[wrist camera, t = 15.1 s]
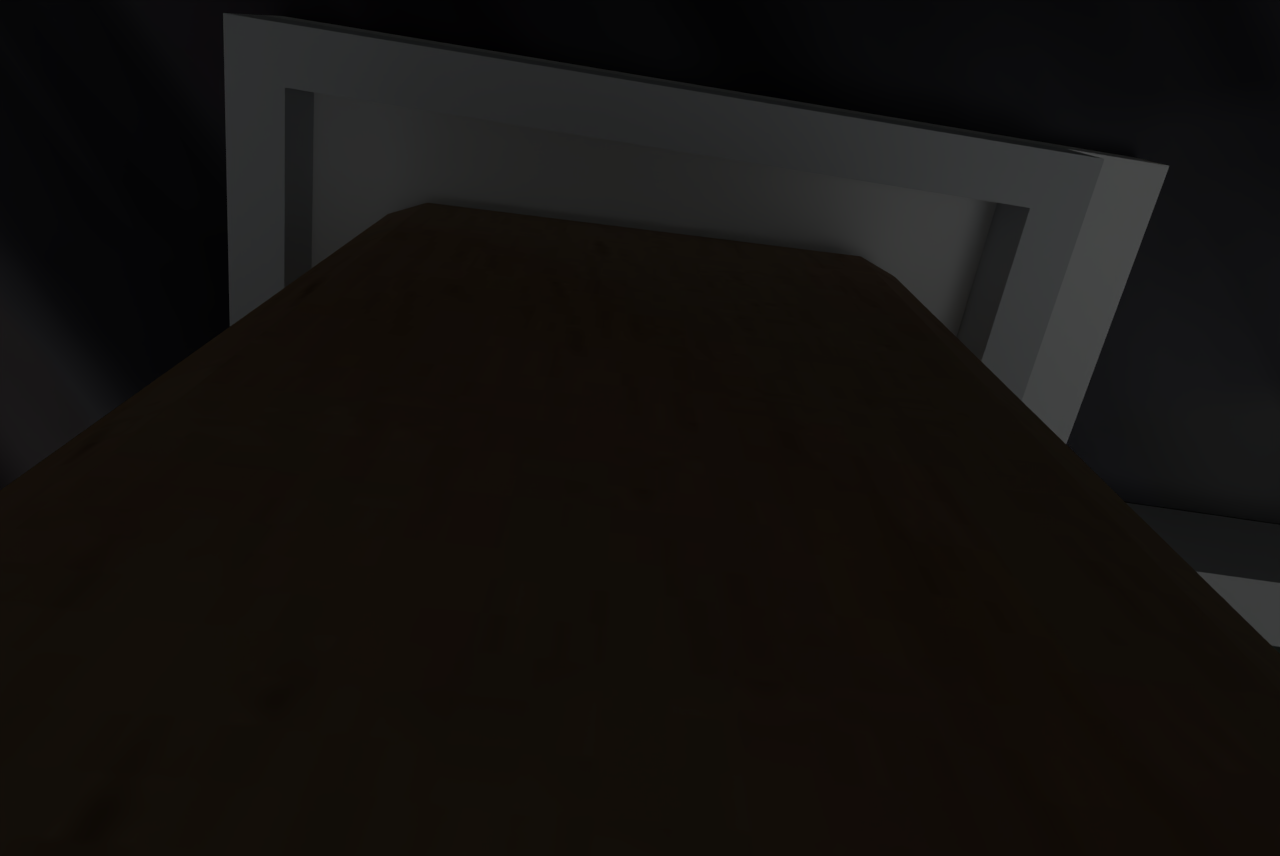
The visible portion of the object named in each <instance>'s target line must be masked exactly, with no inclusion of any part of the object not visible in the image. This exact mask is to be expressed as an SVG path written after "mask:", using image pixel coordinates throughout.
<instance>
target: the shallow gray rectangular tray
mask: <svg viewBox="0 0 1280 856" xmlns="http://www.w3.org/2000/svg"><path fill="white" fill-rule="evenodd" d="M223 31H224V77H225V124H226V170H227V217H228V263H229V310H230V326H232V325H233V324H234V323H236V322H237V321H239V320H240V319H241V318H243V317H244V316H246V315H247V314H248V313H250V312H251V311H253V310H254V309H255V308H257V307H258V306H260V305H261V304H262V303H264V302H265V301H267V300H268V299H269V298H271V297H272V296H274V295H275V294H276V293H278V292H279V291H281V290H282V289H283V288H285V287H286V286H288V285H289V284H290V283H292V282H293V281H295V280H296V279H297V278H299V277H300V276H302V275H303V274H304V273H306V272H307V271H309V270H310V269H311V268H313V267H314V266H316V265H317V264H318V263H320V262H321V261H323V260H324V259H325V258H327V257H328V256H330V255H331V254H332V253H334V252H335V251H337V250H338V249H339V248H341V247H342V246H344V245H345V244H346V243H348V242H349V241H351V240H352V239H353V238H355V237H356V236H358V235H359V234H360V233H362V232H363V231H365V230H366V229H367V228H369V227H370V226H372V225H373V224H375V223H376V222H377V221H379V220H380V219H382V218H383V217H384V216H386V215H387V214H390V213H393V212H396V211H400V210H403V209H407V208H410V207H414V206H417V205H421V204H424V203H434V204H442V205H451V206H459V207H467V208H475V209H483V210H491V211H499V212H507V213H515V214H523V215H531V216H539V217H547V218H555V219H563V220H572V221H580V222H588V223H596V224H604V225H612V226H620V227H628V228H636V229H644V230H652V231H660V232H668V233H676V234H684V235H693V236H701V237H709V238H717V239H725V240H733V241H741V242H749V243H757V244H765V245H773V246H781V247H789V248H797V249H806V250H814V251H822V252H830V253H838V254H846V255H854V256H861V257H863V258H864V259H866V260H868V261H869V262H871V263H873V264H874V265H876V266H878V267H879V268H881V269H883V270H885V271H886V272H888V273H890V274H891V275H893V276H895V277H896V278H897V279H898V280H899V281H900V282H901V283H902V284H903V285H904V286H905V287H906V288H907V289H908V290H909V291H910V292H911V293H912V294H913V295H914V296H915V297H916V298H917V299H918V300H919V301H920V302H921V303H922V304H923V305H924V306H925V307H926V308H927V309H928V310H929V311H930V312H931V313H932V314H933V315H934V316H935V317H936V318H937V319H938V320H940V321H941V322H942V323H943V324H944V325H945V326H946V327H947V328H948V329H949V330H950V331H951V332H952V333H953V334H954V335H955V336H956V337H957V338H958V339H959V340H960V341H961V342H962V343H963V344H964V345H965V346H966V347H967V348H968V349H969V350H970V351H971V352H972V353H973V354H974V355H975V356H976V357H977V358H978V359H979V360H980V361H981V362H982V363H983V364H984V365H985V366H986V367H988V368H989V369H990V370H991V371H992V372H993V373H994V374H995V375H996V376H997V377H998V378H999V379H1000V380H1001V381H1002V382H1003V383H1004V384H1005V385H1006V386H1007V387H1008V388H1009V389H1010V390H1011V391H1012V392H1013V393H1014V394H1015V395H1016V396H1017V397H1018V398H1019V399H1020V400H1021V401H1022V402H1023V403H1024V404H1025V405H1026V406H1027V407H1028V408H1029V409H1030V410H1031V411H1032V412H1033V413H1035V414H1036V415H1037V416H1038V417H1039V418H1040V419H1041V420H1042V421H1043V422H1044V423H1045V424H1046V425H1047V426H1048V427H1049V428H1050V429H1051V430H1052V431H1053V432H1054V433H1055V434H1056V435H1057V436H1058V437H1059V438H1060V439H1061V440H1062V441H1063V442H1064V443H1065V444H1067V441H1068V438H1069V435H1070V433H1071V430H1072V427H1073V425H1074V422H1075V419H1076V417H1077V414H1078V411H1079V408H1080V406H1081V403H1082V400H1083V398H1084V395H1085V392H1086V390H1087V387H1088V384H1089V381H1090V379H1091V376H1092V373H1093V371H1094V368H1095V365H1096V363H1097V360H1098V357H1099V354H1100V352H1101V349H1102V346H1103V344H1104V341H1105V338H1106V336H1107V333H1108V330H1109V327H1110V325H1111V322H1112V319H1113V317H1114V314H1115V311H1116V309H1117V306H1118V303H1119V300H1120V298H1121V295H1122V292H1123V290H1124V287H1125V284H1126V282H1127V279H1128V276H1129V273H1130V271H1131V268H1132V265H1133V263H1134V260H1135V257H1136V255H1137V252H1138V249H1139V246H1140V244H1141V241H1142V238H1143V236H1144V233H1145V230H1146V228H1147V225H1148V222H1149V219H1150V217H1151V214H1152V211H1153V209H1154V206H1155V203H1156V201H1157V198H1158V195H1159V192H1160V190H1161V187H1162V184H1163V182H1164V179H1165V176H1166V174H1167V171H1168V168H1169V166H1168V165H1164V164H1160V163H1156V162H1152V161H1148V160H1144V159H1140V158H1135V157H1129V156H1123V155H1117V154H1111V153H1105V152H1099V151H1093V150H1087V149H1081V148H1075V147H1069V146H1063V145H1057V144H1051V143H1045V142H1039V141H1033V140H1027V139H1021V138H1015V137H1009V136H1002V135H996V134H990V133H984V132H978V131H972V130H966V129H960V128H954V127H948V126H942V125H936V124H930V123H924V122H918V121H912V120H906V119H900V118H894V117H888V116H882V115H876V114H870V113H864V112H858V111H852V110H846V109H840V108H834V107H828V106H822V105H816V104H810V103H804V102H798V101H792V100H786V99H780V98H774V97H768V96H762V95H756V94H750V93H744V92H738V91H732V90H725V89H719V88H713V87H707V86H701V85H695V84H689V83H683V82H677V81H671V80H665V79H659V78H653V77H647V76H641V75H635V74H629V73H623V72H617V71H611V70H605V69H599V68H593V67H587V66H581V65H575V64H569V63H563V62H557V61H551V60H545V59H539V58H533V57H527V56H521V55H515V54H509V53H503V52H497V51H491V50H485V49H479V48H473V47H467V46H461V45H455V44H448V43H442V42H436V41H430V40H424V39H418V38H412V37H406V36H400V35H394V34H388V33H382V32H376V31H370V30H364V29H358V28H352V27H346V26H340V25H334V24H328V23H322V22H316V21H310V20H304V19H298V18H292V17H286V16H273V15H252V14H232V13H223Z"/></svg>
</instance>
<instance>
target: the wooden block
mask: <svg viewBox="0 0 1280 856" xmlns="http://www.w3.org/2000/svg"><path fill="white" fill-rule="evenodd" d="M0 856H1280V653H1279V652H1278V651H1277V650H1276V649H1275V648H1274V647H1273V646H1272V645H1271V644H1269V643H1268V642H1267V641H1266V640H1265V639H1264V638H1263V637H1262V636H1261V635H1260V634H1259V633H1258V632H1257V631H1256V630H1255V629H1254V628H1253V627H1252V626H1251V625H1250V624H1249V623H1248V622H1247V621H1246V620H1245V619H1244V618H1243V617H1242V616H1241V615H1240V614H1239V613H1238V612H1237V611H1236V610H1235V609H1234V608H1233V607H1232V606H1231V605H1230V604H1229V603H1228V602H1227V601H1226V600H1225V599H1224V598H1222V597H1221V596H1220V595H1219V594H1218V593H1217V592H1216V591H1215V590H1214V589H1213V588H1212V587H1211V586H1210V585H1209V584H1208V583H1207V582H1206V581H1205V580H1204V579H1203V578H1202V577H1201V576H1200V575H1199V574H1198V573H1197V572H1196V571H1195V570H1194V569H1193V568H1192V567H1191V566H1190V565H1189V564H1188V563H1187V562H1186V561H1185V560H1184V559H1183V558H1182V557H1181V556H1180V555H1179V554H1178V553H1177V552H1175V551H1174V550H1173V549H1172V548H1171V547H1170V546H1169V545H1168V544H1167V543H1166V542H1165V541H1164V540H1163V539H1162V538H1161V537H1160V536H1159V535H1158V534H1157V533H1156V532H1155V531H1154V530H1153V529H1152V528H1151V527H1150V526H1149V525H1148V524H1147V523H1146V522H1145V521H1144V520H1143V519H1142V518H1141V517H1140V516H1139V515H1138V514H1137V513H1136V512H1135V511H1134V510H1133V509H1132V508H1131V507H1130V506H1129V505H1127V504H1126V503H1125V502H1124V501H1123V500H1122V499H1121V498H1120V497H1119V496H1118V495H1117V494H1116V493H1115V492H1114V491H1113V490H1112V489H1111V488H1110V487H1109V486H1108V485H1107V484H1106V483H1105V482H1104V481H1103V480H1102V479H1101V478H1100V477H1099V476H1098V475H1097V474H1096V473H1095V472H1094V471H1093V470H1092V469H1091V468H1090V467H1089V466H1088V465H1087V464H1086V463H1085V462H1084V461H1083V460H1082V459H1080V458H1079V457H1078V456H1077V455H1076V454H1075V453H1074V452H1073V451H1072V450H1071V449H1070V448H1069V447H1068V446H1067V445H1066V444H1065V443H1064V442H1063V441H1062V440H1061V439H1060V438H1059V437H1058V436H1057V435H1056V434H1055V433H1054V432H1053V431H1052V430H1051V429H1050V428H1049V427H1048V426H1047V425H1046V424H1045V423H1044V422H1043V421H1042V420H1041V419H1040V418H1039V417H1038V416H1037V415H1036V414H1035V413H1033V412H1032V411H1031V410H1030V409H1029V408H1028V407H1027V406H1026V405H1025V404H1024V403H1023V402H1022V401H1021V400H1020V399H1019V398H1018V397H1017V396H1016V395H1015V394H1014V393H1013V392H1012V391H1011V390H1010V389H1009V388H1008V387H1007V386H1006V385H1005V384H1004V383H1003V382H1002V381H1001V380H1000V379H999V378H998V377H997V376H996V375H995V374H994V373H993V372H992V371H991V370H990V369H989V368H988V367H986V366H985V365H984V364H983V363H982V362H981V361H980V360H979V359H978V358H977V357H976V356H975V355H974V354H973V353H972V352H971V351H970V350H969V349H968V348H967V347H966V346H965V345H964V344H963V343H962V342H961V341H960V340H959V339H958V338H957V337H956V336H955V335H954V334H953V333H952V332H951V331H950V330H949V329H948V328H947V327H946V326H945V325H944V324H943V323H942V322H941V321H940V320H938V319H937V318H936V317H935V316H934V315H933V314H932V313H931V312H930V311H929V310H928V309H927V308H926V307H925V306H924V305H923V304H922V303H921V302H920V301H919V300H918V299H917V298H916V297H915V296H914V295H913V294H912V293H911V292H910V291H909V290H908V289H907V288H906V287H905V286H904V285H903V284H902V283H901V282H900V281H899V280H898V279H897V278H896V277H895V276H893V275H891V274H890V273H888V272H886V271H885V270H883V269H881V268H879V267H878V266H876V265H874V264H873V263H871V262H869V261H868V260H866V259H864V258H863V257H861V256H854V255H846V254H838V253H830V252H822V251H814V250H806V249H797V248H789V247H781V246H773V245H765V244H757V243H749V242H741V241H733V240H725V239H717V238H709V237H701V236H693V235H684V234H676V233H668V232H660V231H652V230H644V229H636V228H628V227H620V226H612V225H604V224H596V223H588V222H580V221H572V220H563V219H555V218H547V217H539V216H531V215H523V214H515V213H507V212H499V211H491V210H483V209H475V208H467V207H459V206H451V205H442V204H434V203H424V204H421V205H417V206H414V207H410V208H407V209H403V210H400V211H396V212H393V213H390V214H387V215H386V216H384V217H383V218H382V219H380V220H379V221H377V222H376V223H375V224H373V225H372V226H370V227H369V228H367V229H366V230H365V231H363V232H362V233H360V234H359V235H358V236H356V237H355V238H353V239H352V240H351V241H349V242H348V243H346V244H345V245H344V246H342V247H341V248H339V249H338V250H337V251H335V252H334V253H332V254H331V255H330V256H328V257H327V258H325V259H324V260H323V261H321V262H320V263H318V264H317V265H316V266H314V267H313V268H311V269H310V270H309V271H307V272H306V273H304V274H303V275H302V276H300V277H299V278H297V279H296V280H295V281H293V282H292V283H290V284H289V285H288V286H286V287H285V288H283V289H282V290H281V291H279V292H278V293H276V294H275V295H274V296H272V297H271V298H269V299H268V300H267V301H265V302H264V303H262V304H261V305H260V306H258V307H257V308H255V309H254V310H253V311H251V312H250V313H248V314H247V315H246V316H244V317H243V318H241V319H240V320H239V321H237V322H236V323H234V324H233V325H232V326H230V327H229V328H227V329H226V330H225V331H223V332H222V333H220V334H219V335H218V336H216V337H215V338H213V339H212V340H211V341H209V342H208V343H206V344H205V345H204V346H202V347H201V348H199V349H198V350H197V351H195V352H194V353H192V354H191V355H190V356H188V357H187V358H185V359H184V360H183V361H181V362H180V363H178V364H177V365H176V366H174V367H173V368H171V369H170V370H169V371H167V372H166V373H164V374H163V375H162V376H160V377H159V378H157V379H156V380H155V381H153V382H152V383H150V384H149V385H148V386H146V387H145V388H143V389H142V390H141V391H139V392H138V393H136V394H135V395H134V396H132V397H131V398H129V399H128V400H127V401H125V402H124V403H122V404H121V405H120V406H118V407H117V408H115V409H114V410H113V411H111V412H110V413H108V414H107V415H106V416H104V417H103V418H101V419H100V420H99V421H97V422H96V423H94V424H93V425H92V426H90V427H89V428H87V429H86V430H85V431H83V432H82V433H80V434H79V435H78V436H76V437H75V438H73V439H72V440H71V441H69V442H68V443H66V444H65V445H64V446H62V447H61V448H59V449H58V450H57V451H55V452H54V453H52V454H51V455H50V456H48V457H47V458H45V459H44V460H42V461H41V462H40V463H38V464H37V465H35V466H34V467H33V468H31V469H30V470H28V471H27V472H26V473H24V474H23V475H21V476H20V477H19V478H17V479H16V480H14V481H13V482H12V483H10V484H9V485H7V486H6V487H5V488H3V489H2V490H0Z"/></svg>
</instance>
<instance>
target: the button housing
mask: <svg viewBox="0 0 1280 856" xmlns="http://www.w3.org/2000/svg"><path fill="white" fill-rule="evenodd" d="M1126 504H1127V505H1129V506H1130V507H1131V508H1132V509H1133V510H1134V511H1135V512H1136V513H1137V514H1138V515H1139V516H1140V517H1141V518H1142V519H1143V520H1144V521H1145V522H1146V523H1147V524H1148V525H1149V526H1150V527H1151V528H1152V529H1153V530H1154V531H1155V532H1156V533H1157V534H1158V535H1159V536H1160V537H1161V538H1162V539H1163V540H1164V541H1165V542H1166V543H1167V544H1168V545H1169V546H1170V547H1171V548H1172V549H1173V550H1174V551H1175V552H1177V553H1178V554H1179V555H1180V556H1181V557H1182V558H1183V559H1184V560H1185V561H1186V562H1187V563H1188V564H1189V565H1190V566H1191V567H1192V568H1193V569H1194V570H1195V571H1196V572H1197V573H1198V574H1199V575H1200V576H1201V577H1202V578H1203V579H1204V580H1205V581H1206V582H1207V583H1208V584H1209V585H1210V586H1211V587H1212V588H1213V589H1214V590H1215V591H1216V592H1217V593H1218V594H1219V595H1220V596H1221V597H1222V598H1224V599H1225V600H1226V601H1227V602H1228V603H1229V604H1230V605H1231V606H1232V607H1233V608H1234V609H1235V610H1236V611H1237V612H1238V613H1239V614H1240V615H1241V616H1242V617H1243V618H1244V619H1245V620H1246V621H1247V622H1248V623H1249V624H1250V625H1251V626H1252V627H1253V628H1254V629H1255V630H1256V631H1257V632H1258V633H1259V634H1260V635H1261V636H1262V637H1263V638H1264V639H1265V640H1266V641H1267V642H1268V643H1269V644H1271V645H1272V646H1273V647H1274V648H1275V649H1276V650H1277V651H1278V652H1279V653H1280V525H1278V524H1271V523H1264V522H1257V521H1250V520H1243V519H1236V518H1229V517H1222V516H1215V515H1209V514H1202V513H1195V512H1188V511H1181V510H1174V509H1167V508H1160V507H1153V506H1146V505H1139V504H1132V503H1126Z"/></svg>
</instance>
